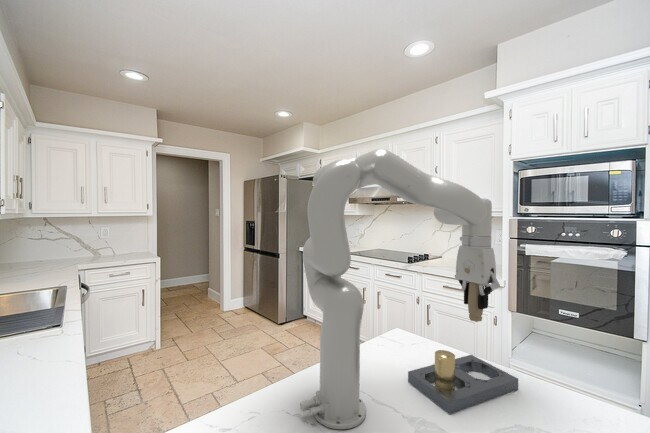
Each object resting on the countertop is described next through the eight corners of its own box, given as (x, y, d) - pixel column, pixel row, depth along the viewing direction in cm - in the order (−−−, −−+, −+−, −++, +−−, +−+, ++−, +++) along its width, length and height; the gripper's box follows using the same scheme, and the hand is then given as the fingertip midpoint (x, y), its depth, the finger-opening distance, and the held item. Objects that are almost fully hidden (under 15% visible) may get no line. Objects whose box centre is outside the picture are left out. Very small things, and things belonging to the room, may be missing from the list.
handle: (490, 324, 84) (490, 270, 83) (464, 322, 85) (465, 268, 85) (485, 318, 88) (486, 266, 88) (461, 316, 90) (462, 265, 90)
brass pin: (444, 398, 78) (445, 360, 78) (430, 388, 83) (430, 352, 82) (458, 394, 80) (459, 356, 80) (444, 384, 85) (444, 348, 84)
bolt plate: (449, 414, 72) (449, 402, 72) (408, 381, 86) (408, 371, 86) (518, 389, 82) (518, 378, 82) (471, 364, 96) (471, 354, 96)
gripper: (443, 239, 92) (443, 299, 93) (494, 245, 77) (493, 317, 77) (461, 239, 95) (460, 296, 96) (513, 244, 80) (512, 313, 81)
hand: (475, 305), depth 87 cm, fingers closed on handle, 4 cm apart
